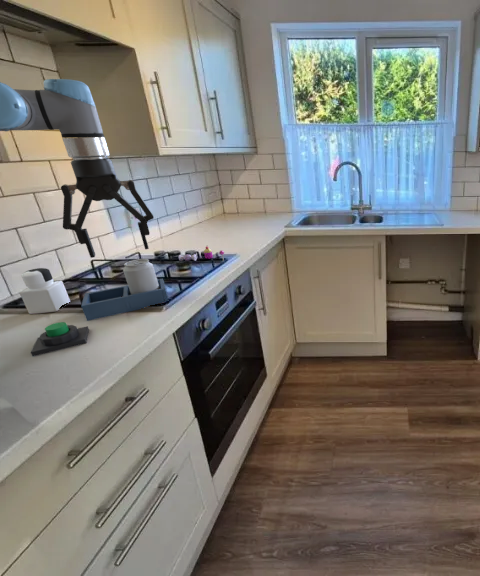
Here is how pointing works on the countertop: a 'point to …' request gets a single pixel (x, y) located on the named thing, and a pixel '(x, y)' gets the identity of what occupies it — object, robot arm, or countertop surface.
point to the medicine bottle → (42, 292)
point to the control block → (60, 340)
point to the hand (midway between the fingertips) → (120, 252)
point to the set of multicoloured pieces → (188, 257)
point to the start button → (56, 329)
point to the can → (140, 276)
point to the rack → (120, 301)
